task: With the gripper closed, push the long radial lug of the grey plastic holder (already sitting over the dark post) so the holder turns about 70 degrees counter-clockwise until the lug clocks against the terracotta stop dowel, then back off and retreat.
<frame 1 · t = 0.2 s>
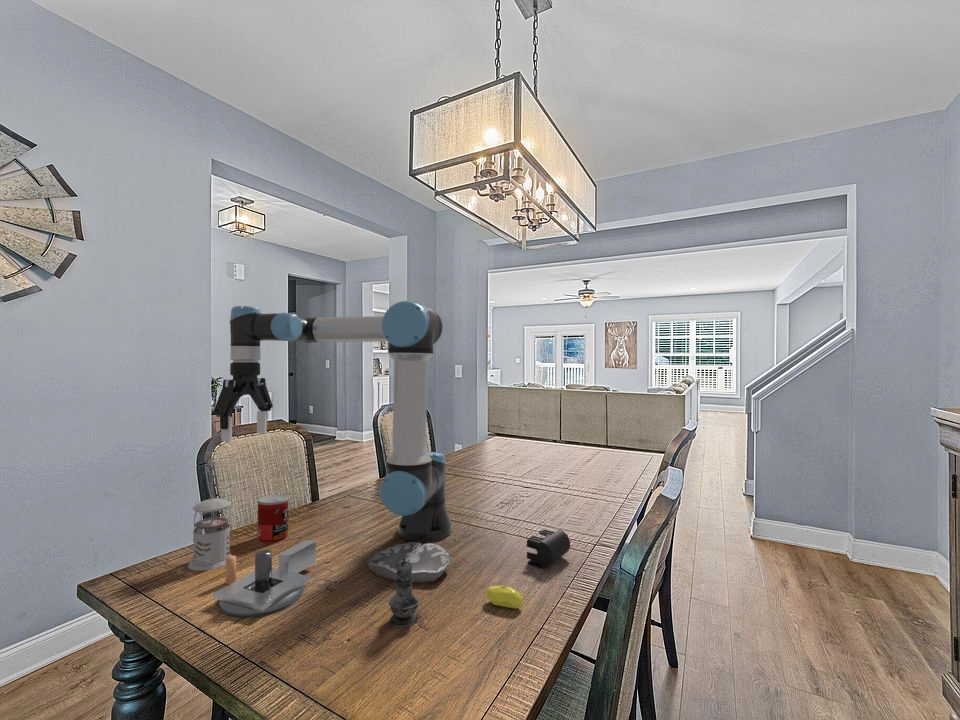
hand: (245, 437, 127), 28 cm above the table, fingers open, 13 cm apart
dark grey chess piece: (404, 620, 87), on the table
canned food: (273, 538, 126), on the table
dowel: (230, 582, 101), on the table
lemon: (503, 606, 92), on the table
end cap: (548, 562, 112), on the table
brain slice: (411, 569, 108), on the table
post base: (263, 595, 95), on the table
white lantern: (209, 561, 111), on the table
grey plastic holder: (277, 569, 98), point 4 cm above the table, hinge at 0.0°
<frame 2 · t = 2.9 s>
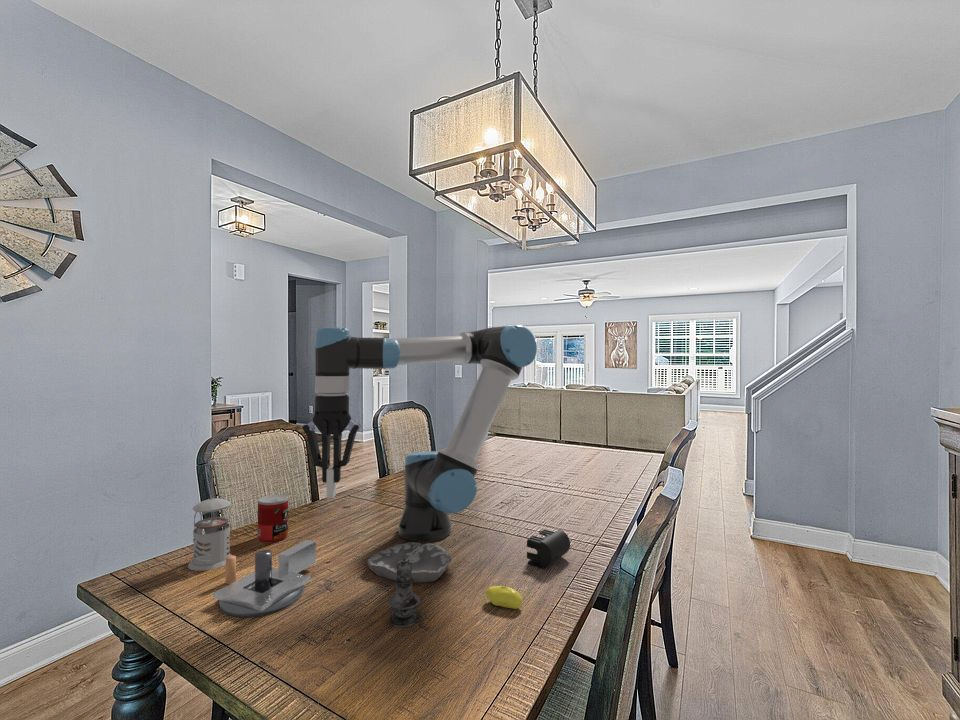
hand: (331, 496, 104), 18 cm above the table, fingers closed
nothing on the table moved.
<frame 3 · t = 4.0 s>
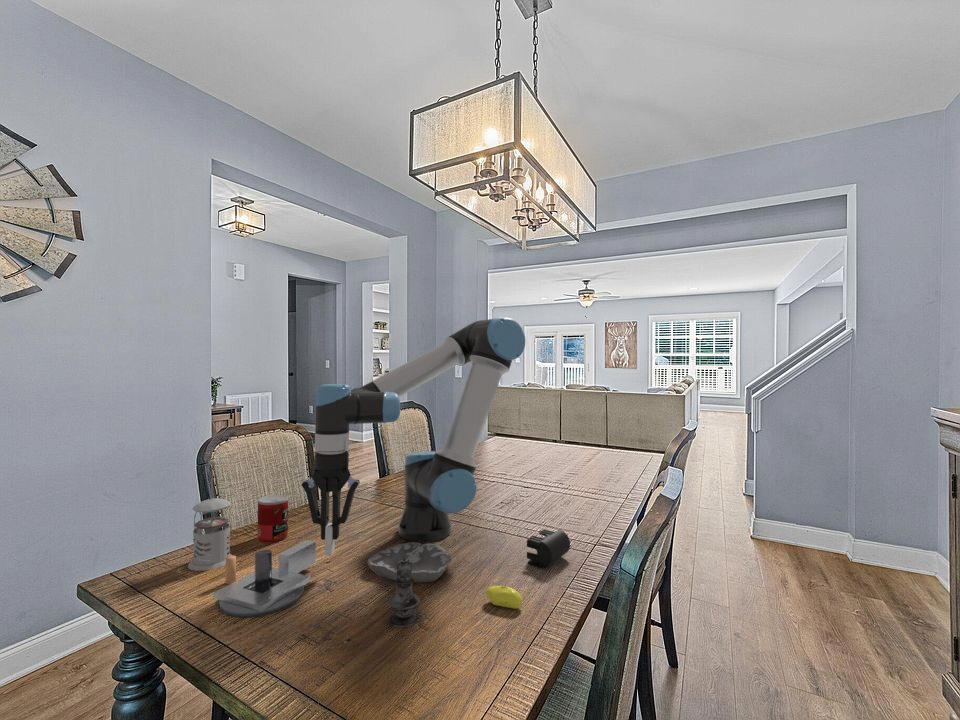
hand: (329, 553, 104), 5 cm above the table, fingers closed
nothing on the table moved.
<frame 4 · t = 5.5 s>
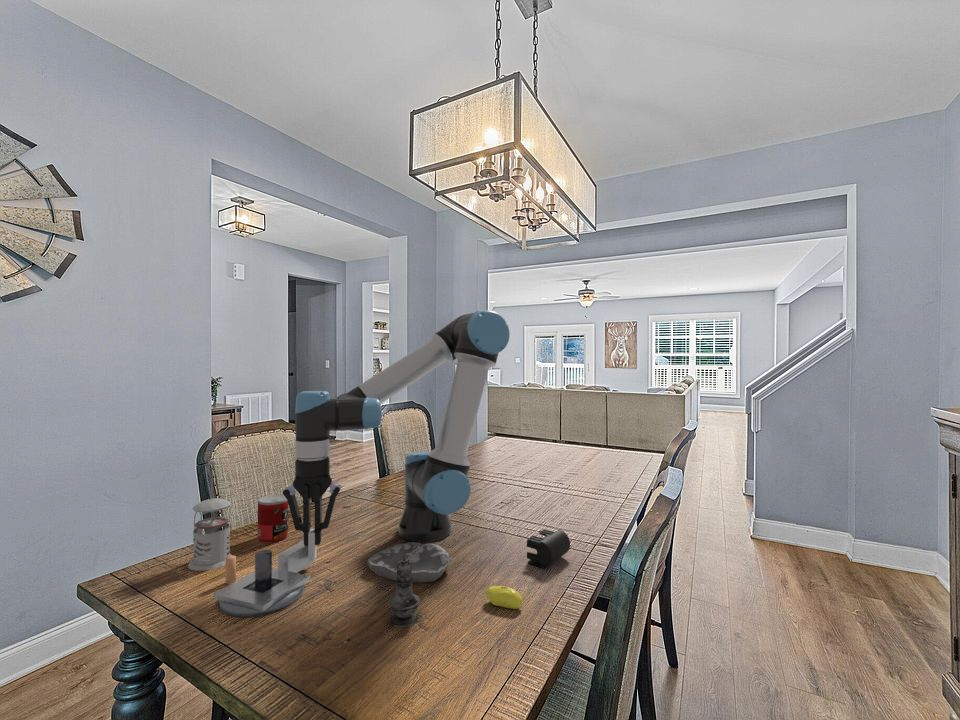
hand: (312, 558, 105), 3 cm above the table, fingers closed
grey plastic holder: (276, 569, 98), point 4 cm above the table, hinge at 2.0°, touching gripper
everything else where it was.
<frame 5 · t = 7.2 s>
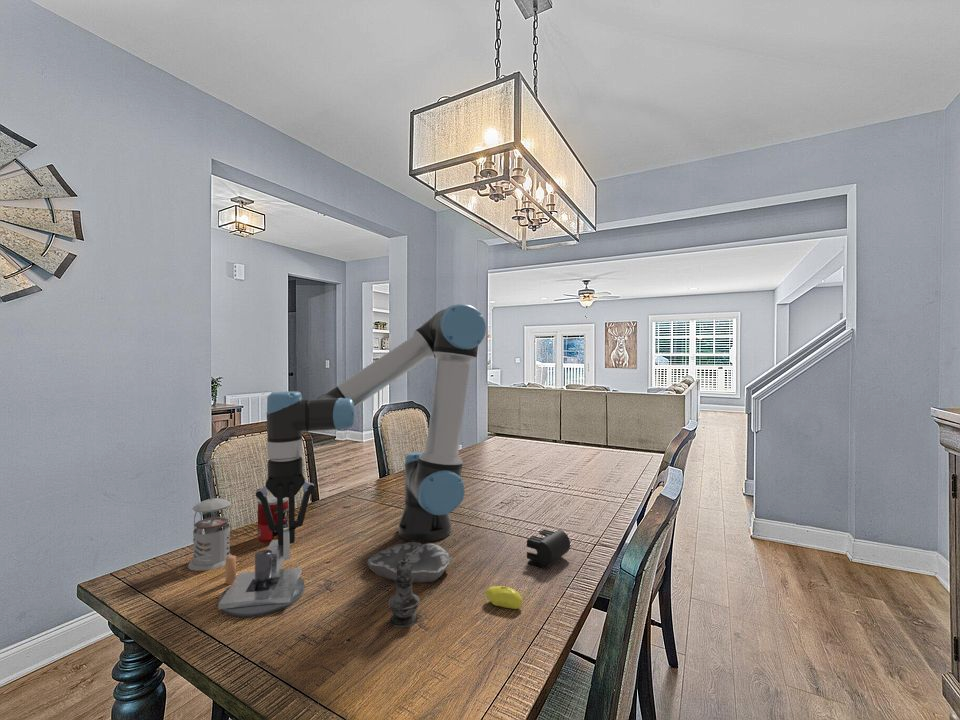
hand: (286, 557, 106), 3 cm above the table, fingers closed
grey plastic holder: (267, 569, 99), point 4 cm above the table, hinge at 33.6°, touching gripper
everything else where it was.
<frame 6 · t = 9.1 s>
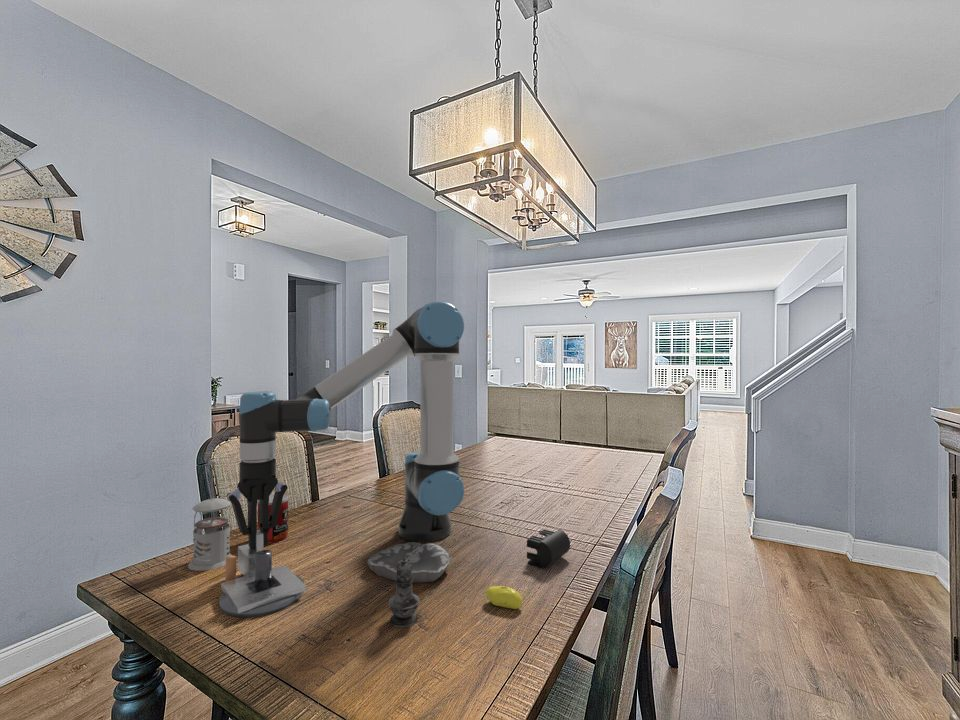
hand: (258, 560, 104), 3 cm above the table, fingers closed
grey plastic holder: (257, 571, 98), point 4 cm above the table, hinge at 63.5°, touching gripper
everything else where it was.
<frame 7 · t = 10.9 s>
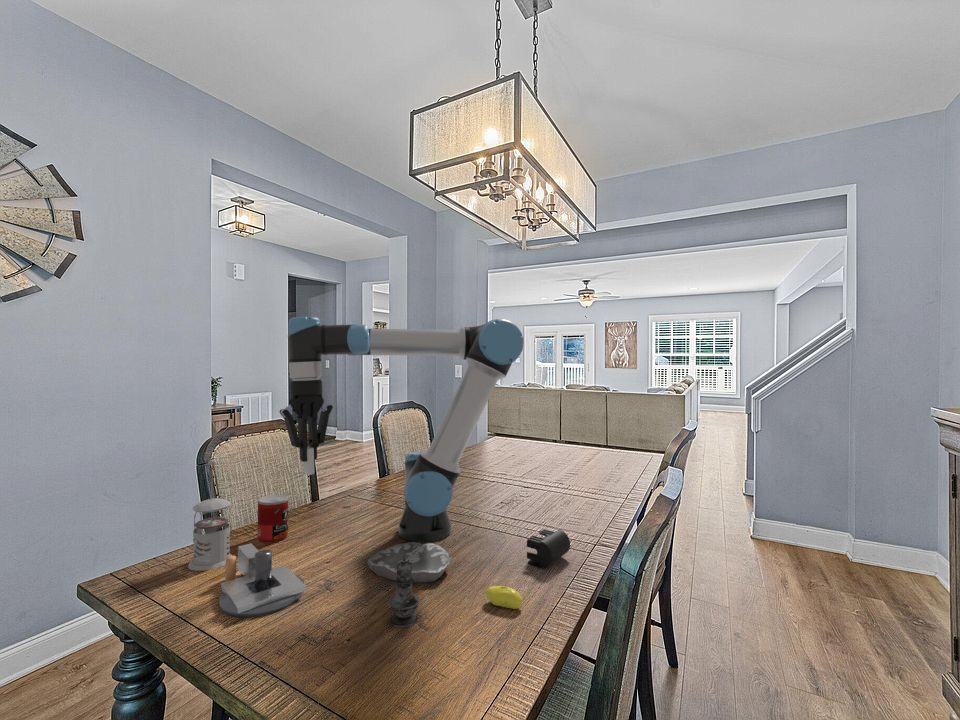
hand: (309, 473, 113), 21 cm above the table, fingers closed
grey plastic holder: (257, 571, 98), point 4 cm above the table, hinge at 63.4°
everything else where it was.
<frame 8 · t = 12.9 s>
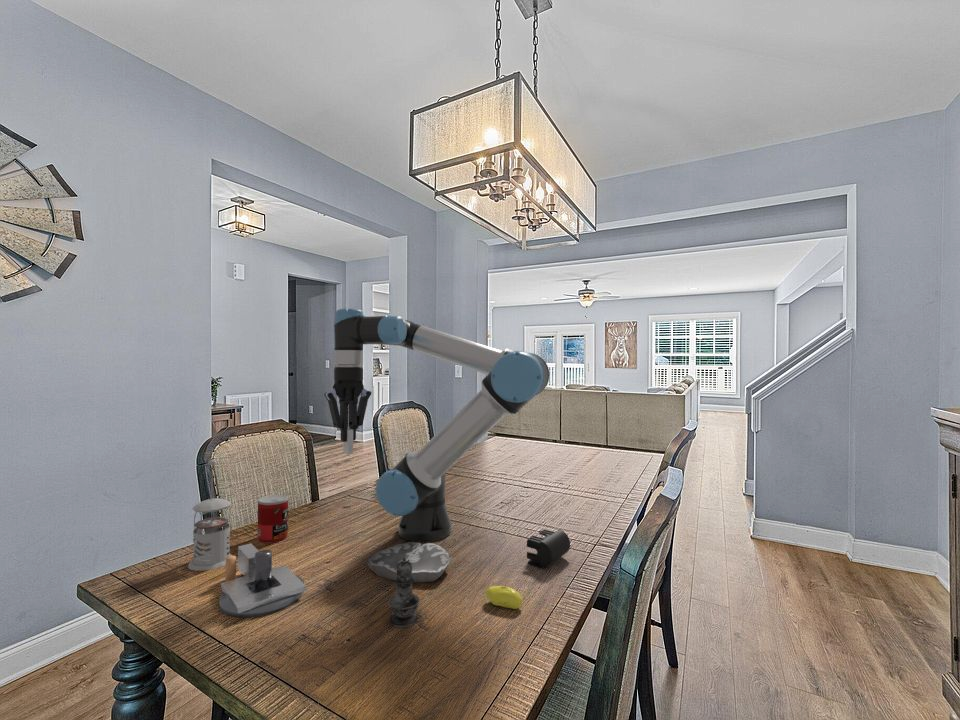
hand: (348, 453, 123), 24 cm above the table, fingers closed
nothing on the table moved.
at the end: grey plastic holder at +63° (first picture: +0°); grey plastic holder touching nothing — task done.
